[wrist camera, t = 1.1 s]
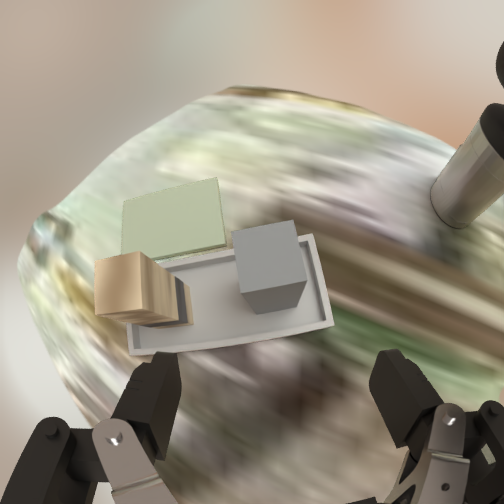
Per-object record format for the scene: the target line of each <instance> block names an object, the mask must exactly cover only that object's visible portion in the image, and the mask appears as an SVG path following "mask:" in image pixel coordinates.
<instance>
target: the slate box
mask: <svg viewBox="0 0 504 504" xmlns="http://www.w3.org/2000/svg"><path fill="white" fill-rule="evenodd" d="M231 234H232V241H233V248H234V254H235V261H236V267H237V273H238V280H239V286H240V292H241V294H242V296H243V297H244V298H245V300H246V301H247V302H248V304H249V305H250V306H251V308H252V309H253V311H254V312H255V313H256V315H258V314H263V313H269V312H274V311H279V310H285V309H290V308H295V307H297V305H298V303H299V301H300V298H301V296H302V293H303V291H304V288H305V286H306V283H307V281H308V279H307V275H306V271H305V266H304V262H303V258H302V254H301V249H300V245H299V241H298V237H297V233H296V229H295V225H294V221H293V220H289V221H284V222H278V223H273V224H268V225H263V226H257V227H252V228H247V229H242V230H237V231H232V232H231Z"/></svg>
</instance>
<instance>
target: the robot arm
mask: <svg viewBox="0 0 504 504" xmlns="http://www.w3.org/2000/svg"><path fill="white" fill-rule="evenodd" d="M496 72H497V76H498V79H499V81H500V83H501V85H502V86H503V88H504V42H503V44H502V45H501V47H500V49H499V52H498V55H497V60H496ZM503 194H504V105H502V104H498V103H493V104H490V105H488V106H487V108H486V109H485V110H484V112H483V113H482V115H481V117H480V119H479V120H478V122H477V124H476V125H475V127H474V128H473V130H472V131H471V133H470V135H469V136H468V137H467V139H466V140H465V142H464V143H463V144H462V145H460V146H459V148H458V149H457V151H456V152H455V153H454V155H453V156H452V158H451V159H450V161H449V162H448V163H447V165H446V166H445V168H444V169H443V170H442V172H441V173H440V174H439V176H438V179H437V181H436V182H435V183H434V185H433V186H432V189H431V201H432V204H433V207H434V209H435V211H436V212H437V214H438V215H439V217H440V218H441V219H442V220H443V221H444V222H445V223H447V224H448V225H450V226H452V227H454V228H464V227H466V226H467V225H468V224H470V223H471V222H472V221H473V220H474V219H476V218H477V217H478V216H479V215H480V214H482V213H483V212H484V211H485V210H486V209H487V208H488V207H490V206H491V205H492V204H493V203H494V202H495V201H496V200H497V199H498V198H499V197H501V196H502V195H503ZM181 388H182V385H181V377H180V371H179V365H178V358H177V354H176V353H171V352H161V351H157V352H156V353H155V355H154V357H153V359H152V361H151V363H145V362H143V363H142V364H141V365H139V366H138V367H137V368H136V369H135V370H134V371H133V373H132V375H131V377H130V381H128V383H127V385H126V389H125V390H124V392H123V394H122V396H121V398H120V400H119V402H118V404H117V406H116V408H115V410H114V413H113V415H112V417H111V418H110V419H106V420H103V421H101V422H100V423H98V424H97V425H96V426H95V428H93V429H77V428H76V429H75V428H70V427H69V426H68V424H67V423H66V422H65V421H64V420H62V419H61V418H58V417H49V418H45V419H43V420H41V421H40V422H39V423H38V424H37V426H36V428H35V429H34V431H33V433H32V435H31V437H30V439H29V441H28V443H27V444H26V446H25V448H24V450H23V452H22V454H21V456H20V458H19V460H18V463H17V465H16V467H15V469H14V471H13V473H12V475H11V478H10V480H9V482H8V484H7V487H6V489H5V492H4V494H3V496H2V499H1V502H0V504H92V502H93V498H94V495H95V491H96V487H97V484H98V482H110V484H111V487H112V489H113V491H112V492H111V494H112V497H113V499H114V501H115V504H178V503H177V501H176V500H175V498H174V497H173V496H172V494H171V493H170V491H169V490H168V488H167V487H166V485H165V484H164V482H163V481H162V479H161V478H160V477H159V475H158V474H157V472H156V470H155V469H154V467H153V466H154V462H155V459H157V460H163V461H165V457H166V452H167V448H168V444H169V440H170V436H171V432H172V428H173V424H174V420H175V416H176V412H177V408H178V404H179V400H180V397H181ZM369 389H370V392H371V394H372V396H373V398H374V400H375V403H376V405H377V407H378V409H379V411H380V413H381V415H382V417H383V419H384V421H385V424H386V426H387V428H388V430H389V432H390V434H391V437H392V439H393V441H394V443H395V445H396V448H400V447H404V446H408V448H409V450H408V451H407V453H406V455H405V458H404V461H403V464H402V467H401V469H400V472H399V475H398V477H397V480H396V482H395V485H394V487H393V489H392V491H391V492H390V494H389V495H388V497H387V498H386V499H385V501H384V503H377V501H376V498H375V497H372V498H368V499H364V500H360V501H356V502H352V503H347V504H462V503H463V498H464V494H465V496H466V498H467V501H468V503H469V504H504V407H503V406H502V405H501V404H500V403H498V402H496V401H492V400H489V401H486V402H484V403H483V404H482V406H481V407H480V409H479V410H478V411H473V412H464V411H463V410H462V408H460V407H459V406H457V405H455V404H452V403H444V402H443V400H442V399H441V398H440V396H439V395H438V393H437V392H436V390H435V389H434V388H433V386H432V385H431V383H430V382H429V381H427V378H426V377H425V375H423V373H422V371H421V370H420V368H419V367H418V366H417V365H416V364H415V363H413V362H412V361H410V360H409V359H405V357H404V356H403V355H402V353H401V352H400V351H399V350H398V349H390V350H383V351H380V352H379V354H378V356H377V359H376V362H375V365H374V368H373V371H372V373H371V376H370V380H369ZM486 443H487V445H488V447H489V448H490V450H491V452H492V454H493V455H494V457H495V460H496V465H495V468H494V469H493V470H491V468H490V466H489V464H488V462H487V460H486V458H485V457H484V455H483V453H482V451H481V449H482V448H483V447H484V445H485V444H486Z"/></svg>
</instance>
